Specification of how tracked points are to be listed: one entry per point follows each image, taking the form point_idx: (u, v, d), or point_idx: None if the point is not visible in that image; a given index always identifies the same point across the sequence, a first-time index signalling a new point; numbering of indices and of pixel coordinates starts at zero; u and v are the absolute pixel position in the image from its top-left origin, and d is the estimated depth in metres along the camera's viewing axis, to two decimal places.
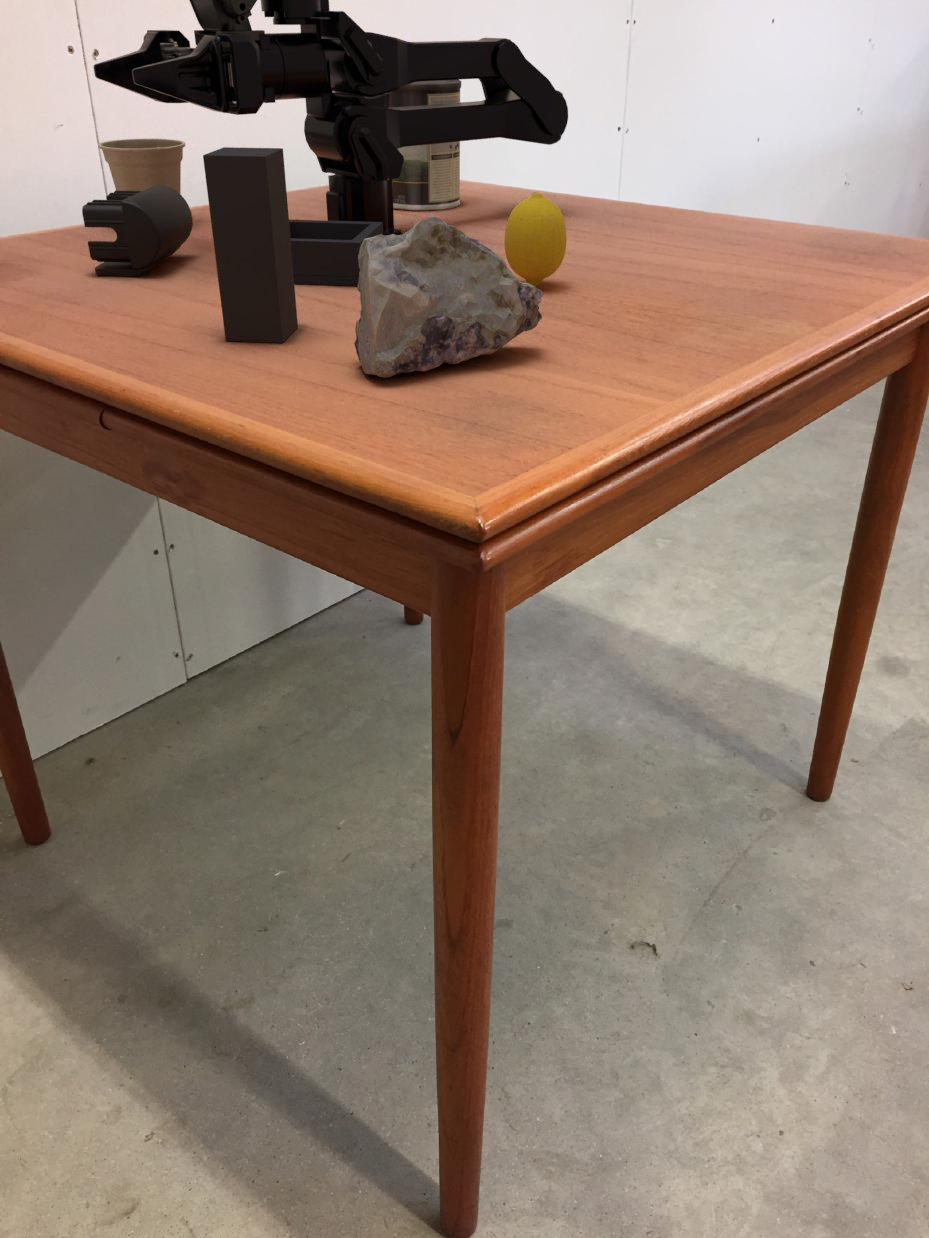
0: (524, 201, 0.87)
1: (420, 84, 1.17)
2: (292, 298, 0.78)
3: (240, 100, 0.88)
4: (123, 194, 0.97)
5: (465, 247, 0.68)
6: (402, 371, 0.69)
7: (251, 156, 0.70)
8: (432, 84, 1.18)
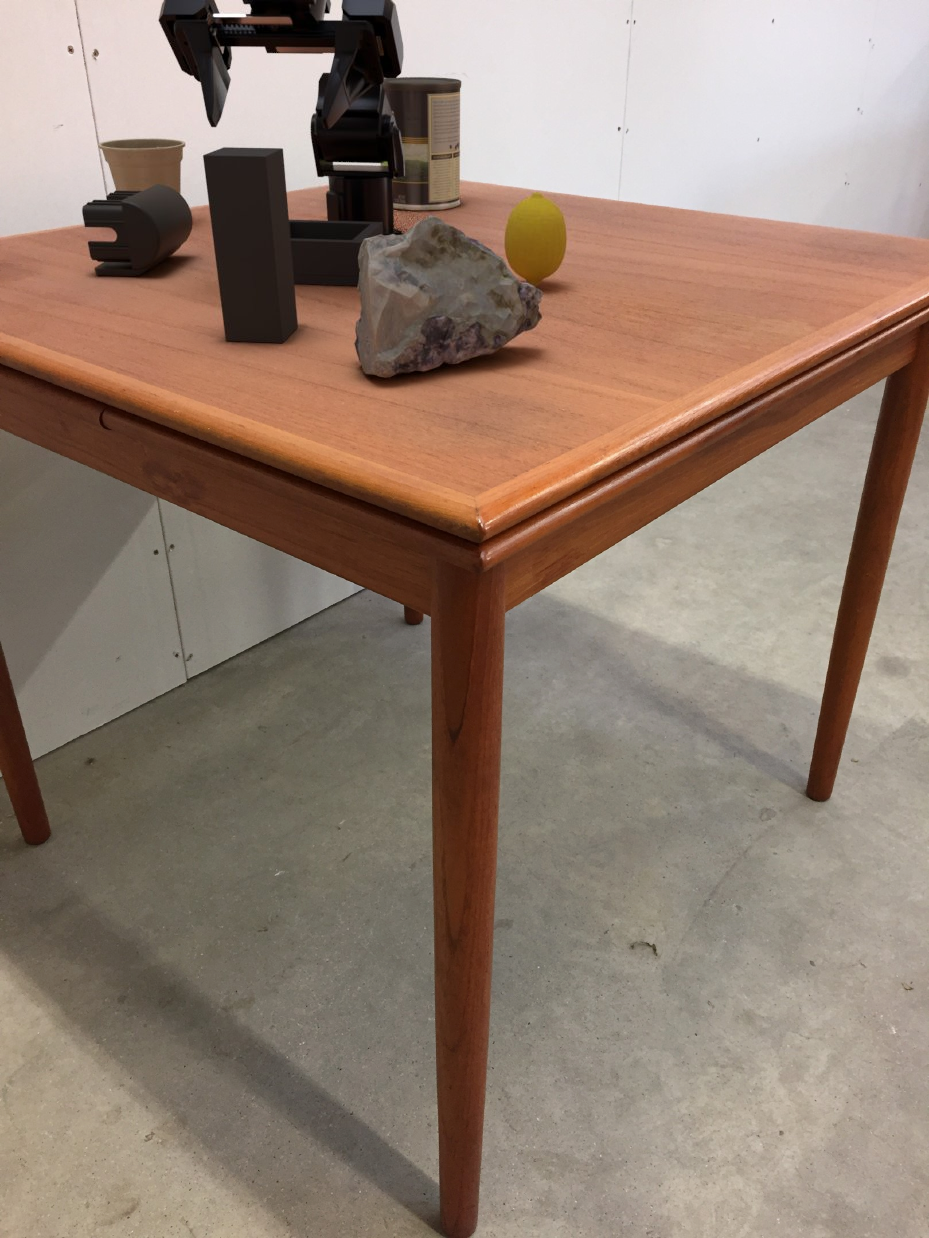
0: (524, 201, 0.87)
1: (420, 84, 1.17)
2: (292, 298, 0.78)
3: (399, 65, 0.81)
4: (123, 194, 0.97)
5: (465, 247, 0.68)
6: (402, 371, 0.69)
7: (251, 156, 0.70)
8: (432, 84, 1.18)
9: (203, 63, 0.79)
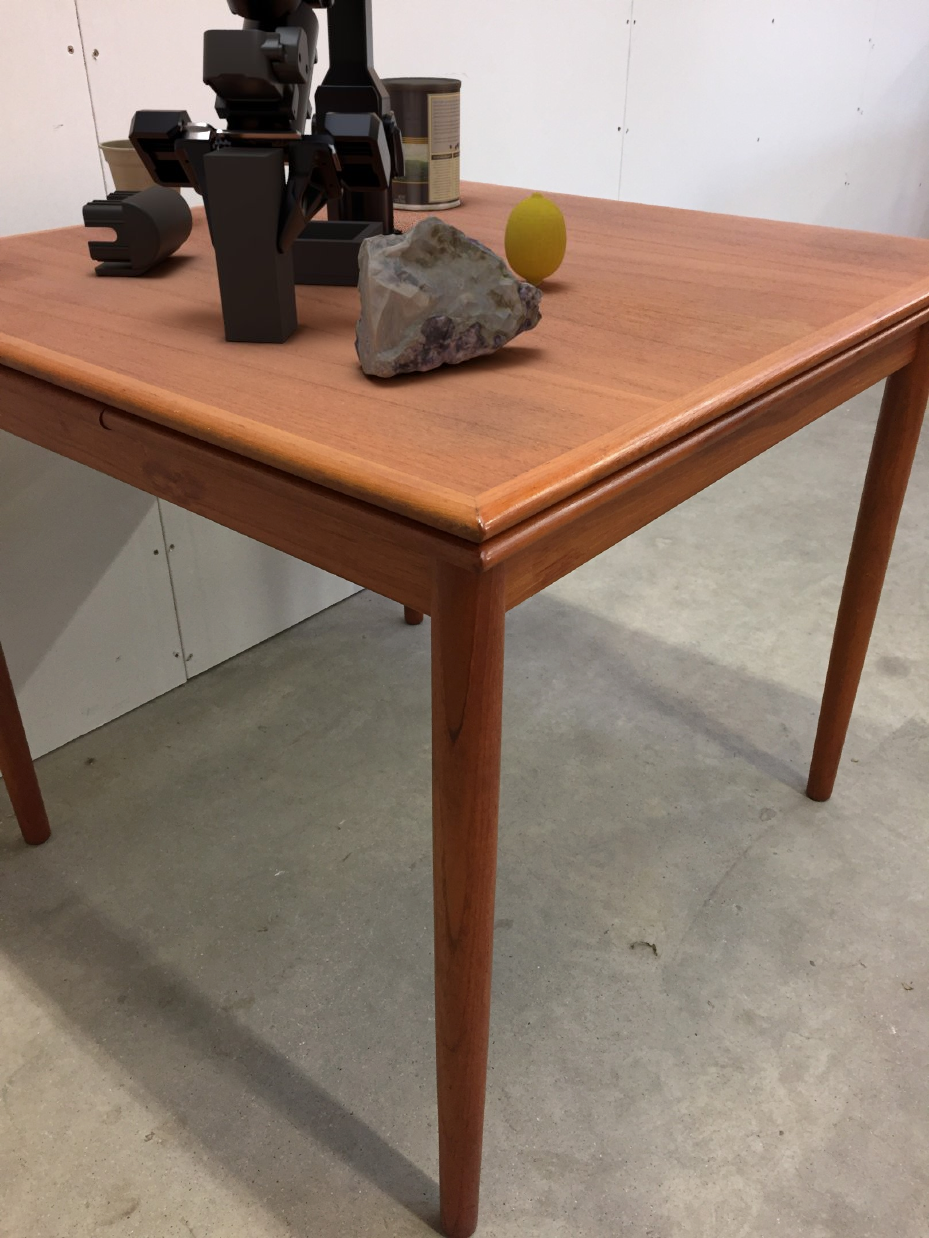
0: (524, 201, 0.87)
1: (420, 84, 1.17)
2: (292, 298, 0.78)
3: (386, 180, 0.76)
4: (123, 194, 0.97)
5: (465, 247, 0.68)
6: (402, 371, 0.69)
7: (251, 156, 0.70)
8: (432, 84, 1.18)
9: (206, 184, 0.74)
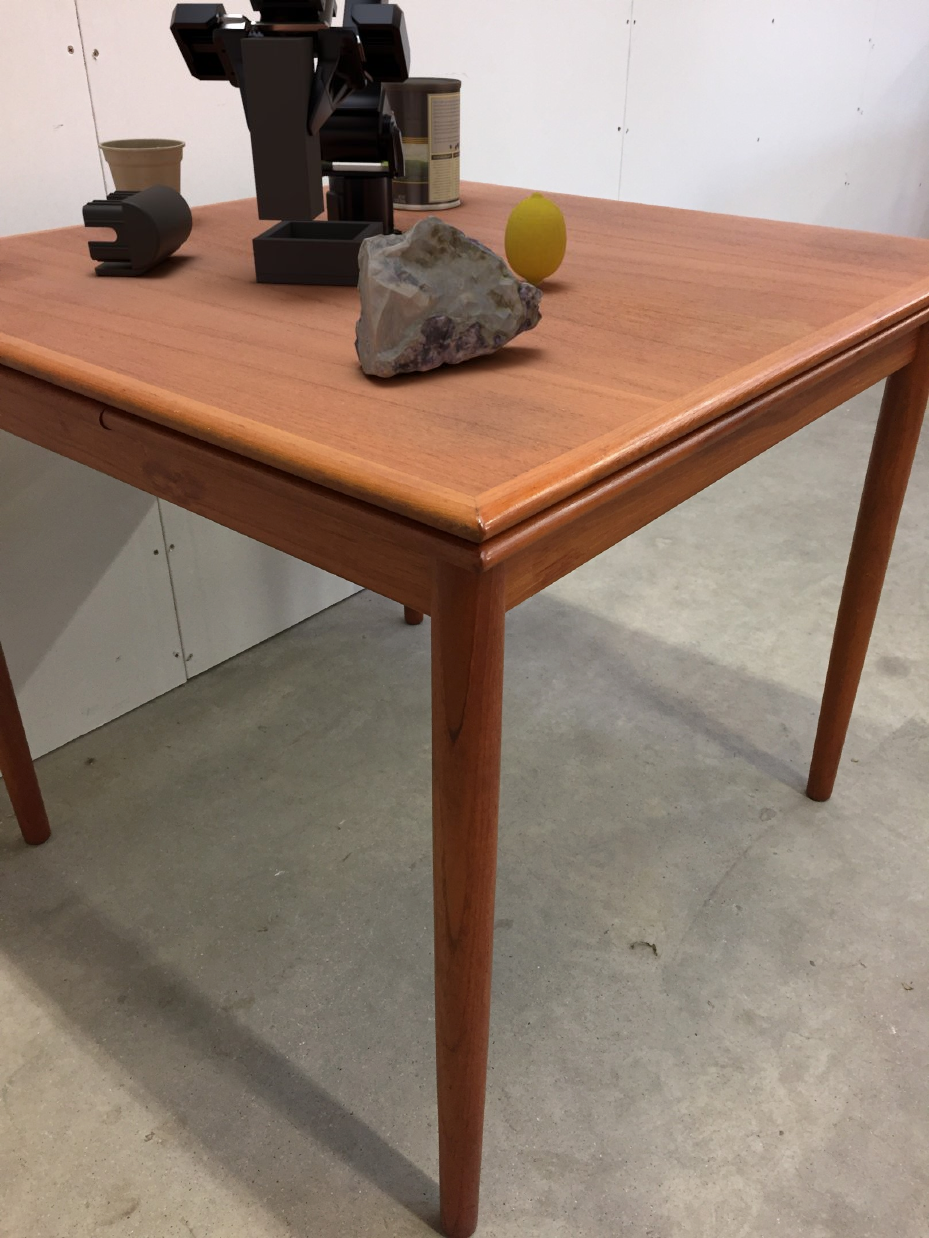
0: (524, 201, 0.87)
1: (420, 84, 1.17)
2: (320, 182, 0.84)
3: (407, 70, 0.83)
4: (123, 194, 0.97)
5: (465, 247, 0.68)
6: (402, 371, 0.69)
7: (285, 40, 0.76)
8: (432, 84, 1.18)
9: (242, 71, 0.80)
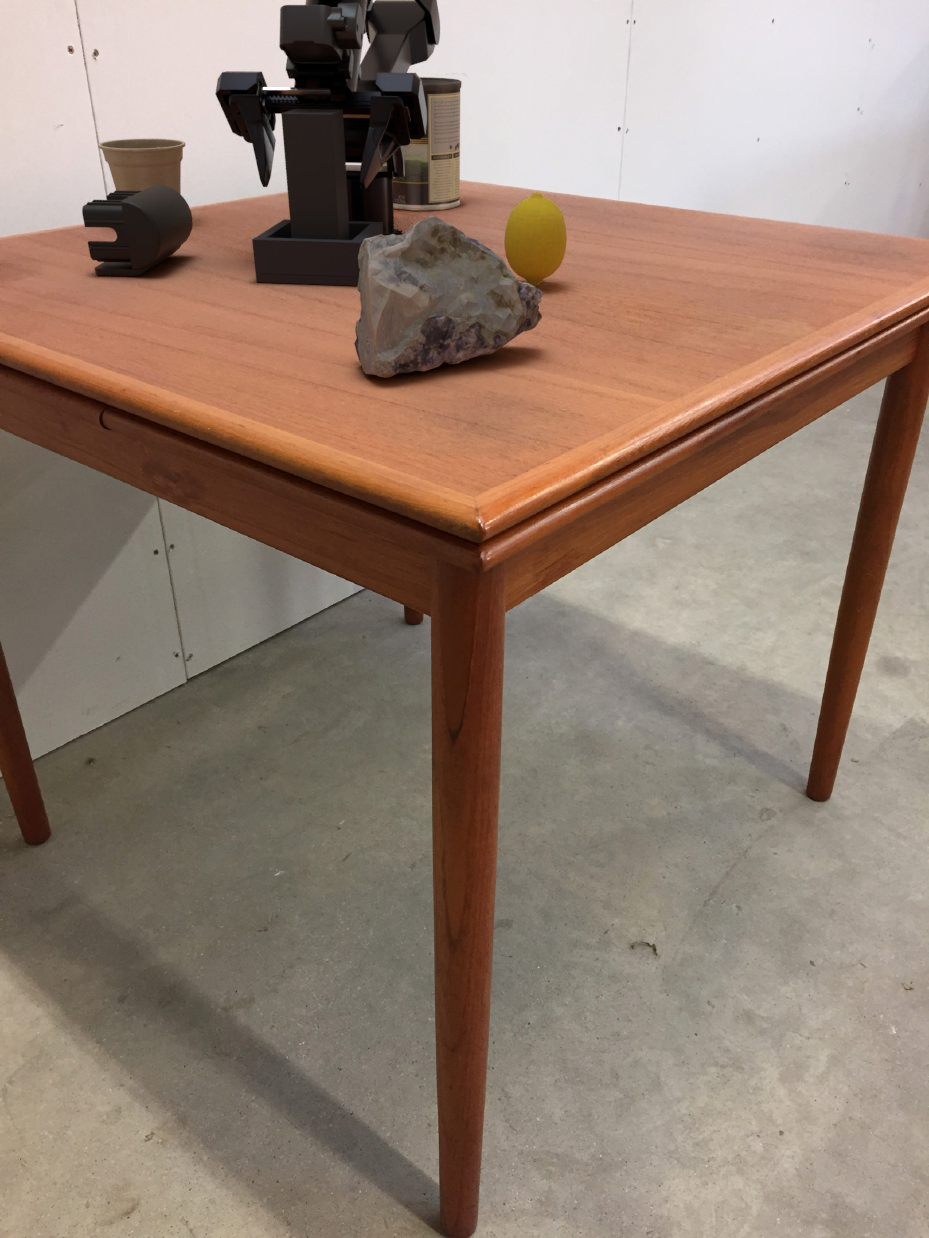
0: (524, 201, 0.87)
1: None
2: (347, 234, 0.96)
3: None
4: (123, 194, 0.97)
5: (465, 247, 0.68)
6: (402, 371, 0.69)
7: (320, 114, 0.87)
8: (432, 84, 1.18)
9: (255, 131, 0.91)
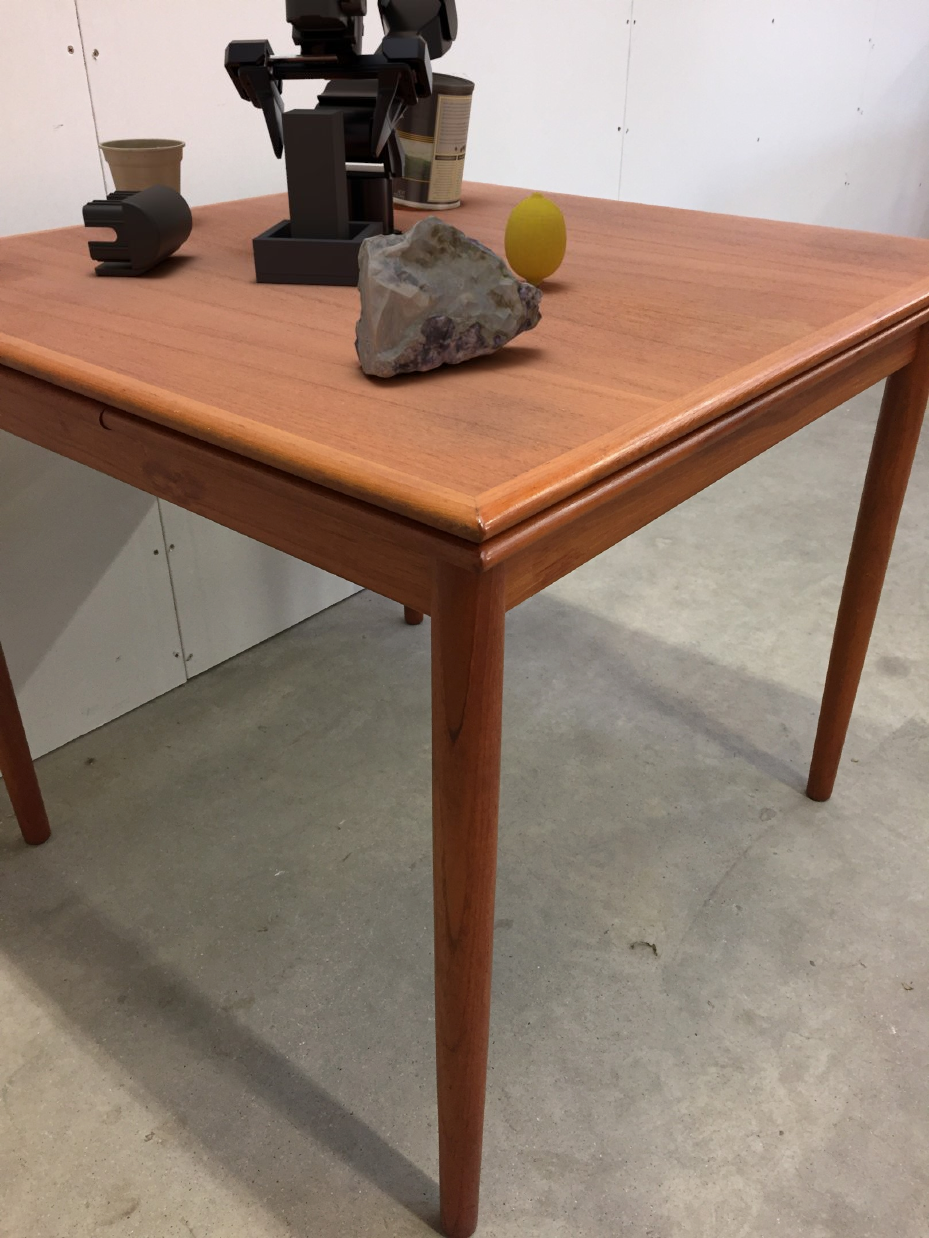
0: (524, 201, 0.87)
1: (432, 83, 1.17)
2: (347, 234, 0.96)
3: (430, 89, 0.95)
4: (123, 194, 0.97)
5: (465, 247, 0.68)
6: (402, 371, 0.69)
7: (320, 114, 0.87)
8: (444, 85, 1.17)
9: (266, 103, 0.93)
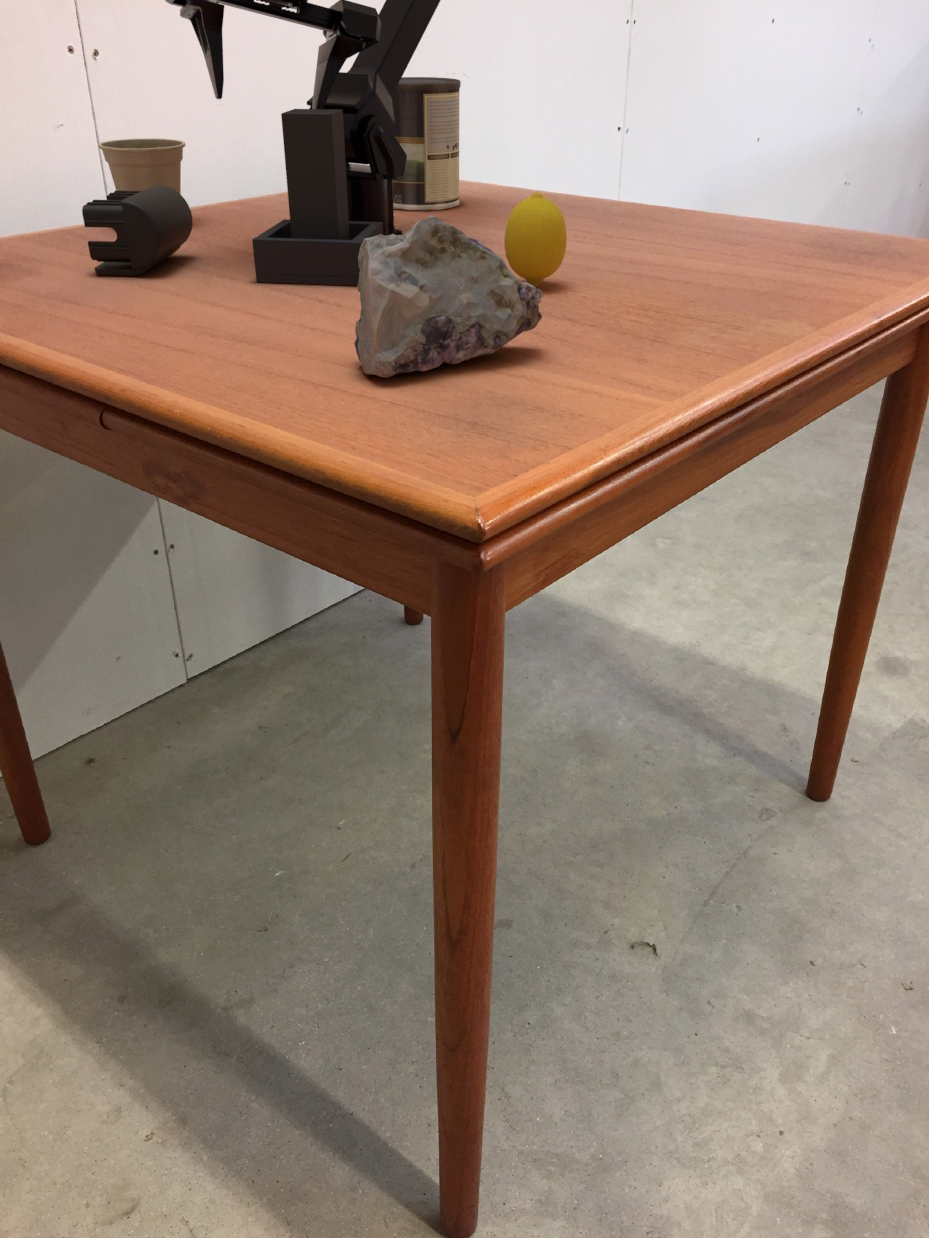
0: (524, 201, 0.87)
1: (416, 84, 1.17)
2: (347, 234, 0.96)
3: (363, 48, 0.98)
4: (123, 194, 0.97)
5: (465, 247, 0.68)
6: (402, 371, 0.69)
7: (320, 114, 0.87)
8: (428, 84, 1.17)
9: (214, 39, 0.89)
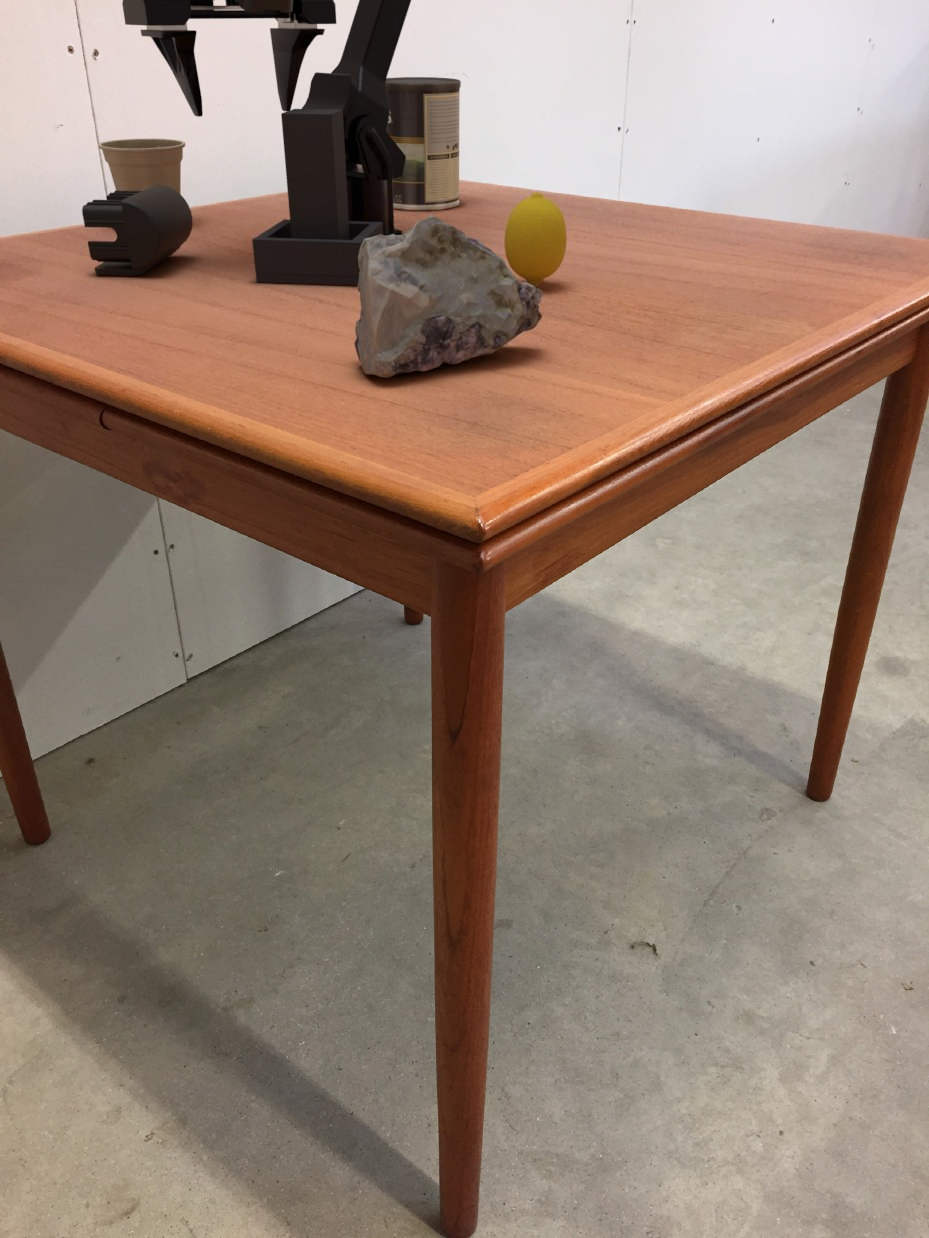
0: (524, 201, 0.87)
1: (416, 84, 1.17)
2: (347, 234, 0.96)
3: None
4: (123, 194, 0.97)
5: (465, 247, 0.68)
6: (402, 371, 0.69)
7: (320, 114, 0.87)
8: (428, 84, 1.17)
9: (188, 63, 0.90)
